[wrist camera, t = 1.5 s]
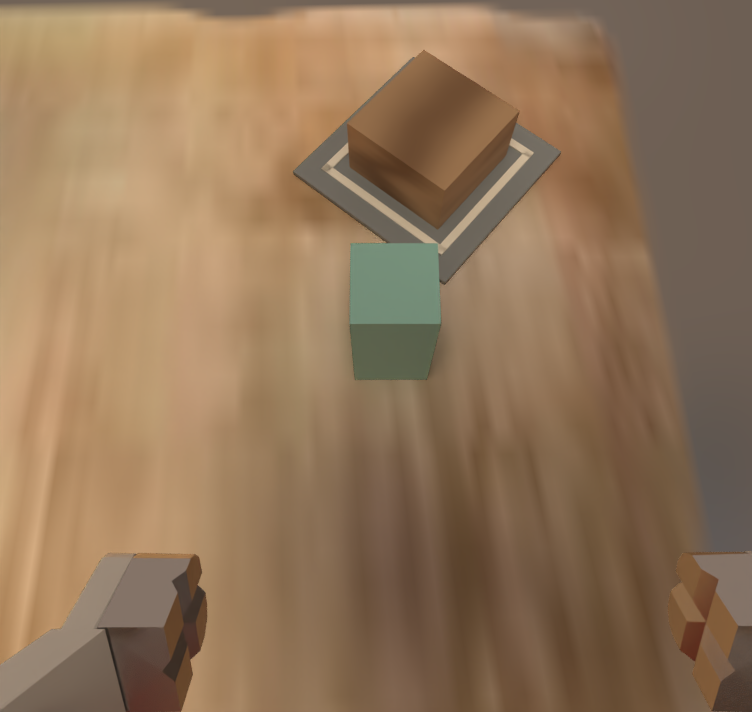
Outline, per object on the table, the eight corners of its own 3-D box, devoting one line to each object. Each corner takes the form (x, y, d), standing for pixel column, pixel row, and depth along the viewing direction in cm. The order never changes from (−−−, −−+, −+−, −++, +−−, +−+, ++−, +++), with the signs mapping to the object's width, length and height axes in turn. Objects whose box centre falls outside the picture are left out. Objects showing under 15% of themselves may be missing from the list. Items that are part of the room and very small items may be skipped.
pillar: (354, 379, 35) (349, 323, 27) (355, 313, 36) (350, 243, 29) (426, 379, 35) (441, 323, 27) (424, 313, 36) (437, 243, 29)
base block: (349, 167, 39) (347, 123, 36) (419, 98, 41) (423, 49, 37) (437, 229, 38) (444, 190, 34) (505, 155, 40) (519, 111, 36)
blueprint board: (293, 174, 40) (292, 170, 39) (413, 60, 43) (413, 55, 42) (444, 284, 37) (445, 281, 37) (559, 154, 40) (561, 150, 40)
